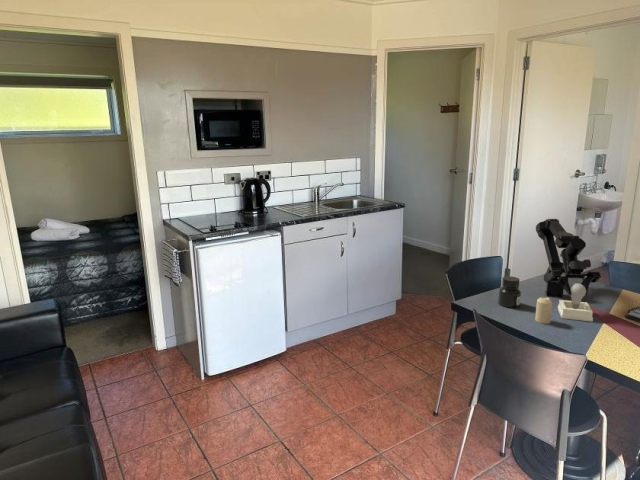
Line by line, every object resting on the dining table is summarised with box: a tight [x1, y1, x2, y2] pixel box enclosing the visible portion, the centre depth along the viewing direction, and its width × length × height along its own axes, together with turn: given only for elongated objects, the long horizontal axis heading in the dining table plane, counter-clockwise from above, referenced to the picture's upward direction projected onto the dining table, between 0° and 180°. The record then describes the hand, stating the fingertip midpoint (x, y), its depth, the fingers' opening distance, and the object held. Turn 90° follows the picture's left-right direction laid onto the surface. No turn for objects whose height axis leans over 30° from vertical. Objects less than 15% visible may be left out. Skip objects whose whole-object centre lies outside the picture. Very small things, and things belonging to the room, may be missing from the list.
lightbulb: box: [569, 282, 586, 309], centre depth 182 cm, size 6×6×11 cm
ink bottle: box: [497, 275, 522, 309], centre depth 195 cm, size 10×9×12 cm
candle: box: [534, 296, 553, 325], centre depth 177 cm, size 6×6×10 cm
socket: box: [557, 299, 594, 322], centre depth 183 cm, size 11×11×4 cm
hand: (578, 295), depth 181 cm, fingers closed on lightbulb, 6 cm apart
